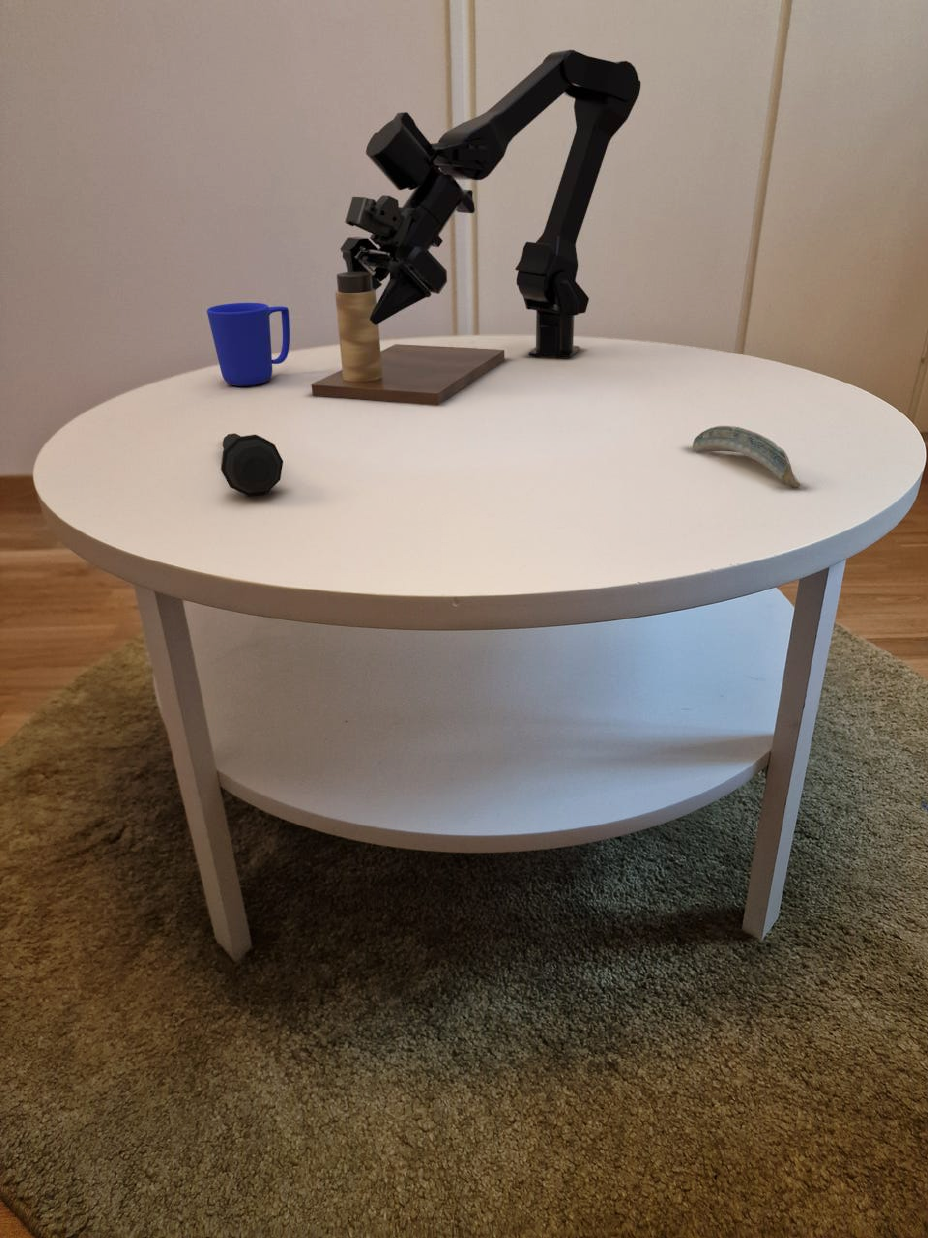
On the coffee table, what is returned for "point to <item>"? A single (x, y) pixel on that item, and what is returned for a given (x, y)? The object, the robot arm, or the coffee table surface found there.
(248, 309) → the mug
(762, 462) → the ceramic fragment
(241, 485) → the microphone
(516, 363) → the coffee table surface
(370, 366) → the pepper mill
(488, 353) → the cutting board
